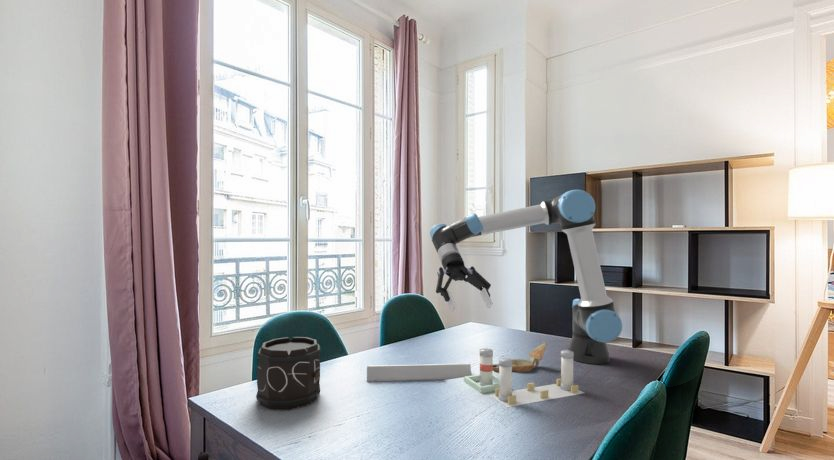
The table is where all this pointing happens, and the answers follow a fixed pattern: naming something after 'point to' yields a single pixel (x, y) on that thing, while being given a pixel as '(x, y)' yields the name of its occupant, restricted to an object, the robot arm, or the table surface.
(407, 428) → the table surface
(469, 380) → the tray
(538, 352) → the oil lamp
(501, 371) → the cylinder
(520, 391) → the fuse block
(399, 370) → the decorative molding
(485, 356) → the marked fuse
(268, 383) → the coffee canister
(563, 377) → the fuse
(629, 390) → the table surface
